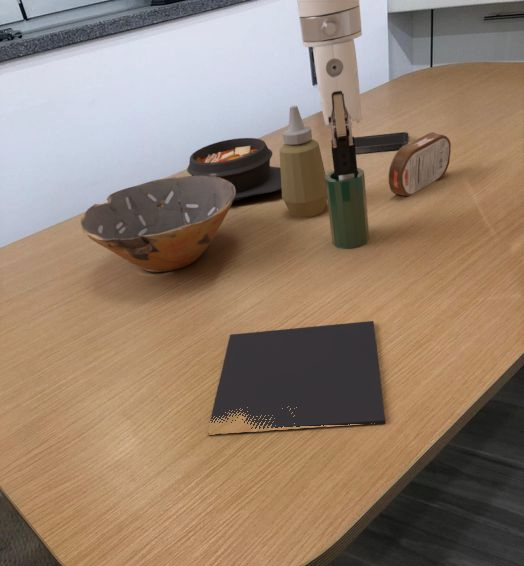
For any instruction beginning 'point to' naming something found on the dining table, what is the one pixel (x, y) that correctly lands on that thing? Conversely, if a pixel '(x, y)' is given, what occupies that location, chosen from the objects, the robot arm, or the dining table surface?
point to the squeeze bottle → (302, 170)
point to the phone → (381, 142)
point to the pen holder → (347, 210)
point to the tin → (419, 164)
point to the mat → (302, 377)
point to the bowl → (161, 220)
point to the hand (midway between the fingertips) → (345, 169)
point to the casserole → (238, 166)
